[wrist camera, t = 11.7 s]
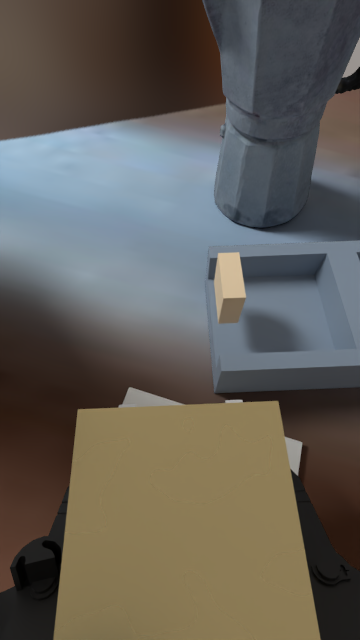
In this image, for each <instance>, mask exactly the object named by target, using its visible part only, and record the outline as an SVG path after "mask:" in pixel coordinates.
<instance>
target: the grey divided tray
mask: <svg viewBox="0 0 360 640" xmlns="http://www.w3.org/2000/svg"><path fill="white" fill-rule="evenodd" d="M205 292H206V303H207V315H208V326H209V337H210V349H211V360H212V372H213V383H214V393H233V392H257V391H280V390H304V389H328V388H352V387H360V240H358V241H334V242H309V243H285V244H260V245H236V246H212V247H209V250H208V260H207V271H206V281H205Z"/></svg>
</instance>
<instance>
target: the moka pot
mask: <svg viewBox="0 0 360 640" xmlns="http://www.w3.org/2000/svg"><path fill="white" fill-rule="evenodd" d="M202 1H203V4H204V7H205V10H206V12H207V16H208V19H209V22H210V24H211V27H212V30H213V33H214V36H215V38H216V40H217V43H218V46H219V50H220V54H221V68H222V82H223V94H224V95H225V96H226V120H225V124H224V125H222V126H221V129H220V136H221V137H223V138H222V144H221V150H220V155H219V161H218V167H217V172H216V179H215V190H214V197H215V203H216V205H217V207H218V208H219V209H220V210H221V212H222V213H223V214H224V215H226V216H227V217H228V218H230V219H231V220H233V221H235V222H237V223H240V224H243V225H247V226H250V227H270V226H275V225H278V224H282V223H285V222H287V221H289V220H291V219H292V218H293V217H295V216H296V215H297V214H298V213H299V212H300V210H301V209H302V207H303V206H304V204H305V203H306V201H307V198H308V194H309V187H310V180H311V175H312V169H313V164H314V159H315V153H316V148H317V141H318V136H319V127H320V120H321V118H322V115H323V112H324V110H325V107H326V104H327V101H328V100H329V99H330V98H332V97H333V96H334V94H338V93H344V92H346V91H351V90H352V89H353V90H356V89H359V88H360V67H359V68H358V69H357V70H356V72H355V73H353V74H352V75H351V76H348V77H344V78H342V76H343V74H344V72H345V69H346V67H347V64H348V63H349V60H350V58H351V56H352V53H353V51H354V49H355V46H356V44H357V42H358V40H359V38H360V0H202Z"/></svg>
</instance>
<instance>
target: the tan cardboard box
mask: <svg viewBox="0 0 360 640" xmlns="http://www.w3.org/2000/svg"><path fill="white" fill-rule="evenodd" d="M53 640H321V639H320V633H319V627H318V622H317V616H316V610H315V605H314V599H313V594H312V588H311V582H310V577H309V571H308V565H307V560H306V554H305V549H304V543H303V537H302V532H301V526H300V520H299V515H298V509H297V504H296V498H295V492H294V487H293V481H292V475H291V470H290V464H289V459H288V453H287V447H286V442H285V436H284V430H283V425H282V419H281V414H280V408H279V402H278V401H264V402H240V403H216V404H193V405H169V406H146V407H122V408H99V409H78V412H77V422H76V431H75V441H74V450H73V460H72V469H71V478H70V488H69V497H68V507H67V516H66V526H65V535H64V544H63V554H62V563H61V573H60V582H59V591H58V601H57V610H56V620H55V629H54V639H53Z"/></svg>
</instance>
